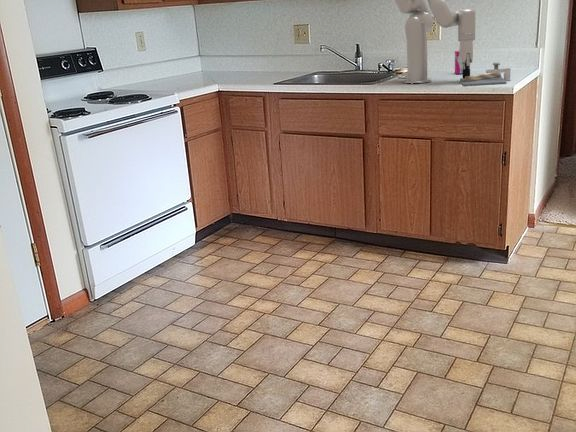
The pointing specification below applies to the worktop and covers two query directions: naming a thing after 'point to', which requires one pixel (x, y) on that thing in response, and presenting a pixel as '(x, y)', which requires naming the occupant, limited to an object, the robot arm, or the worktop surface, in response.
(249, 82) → the worktop surface
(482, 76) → the link
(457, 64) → the supplement box
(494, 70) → the keeper
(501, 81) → the base plate
